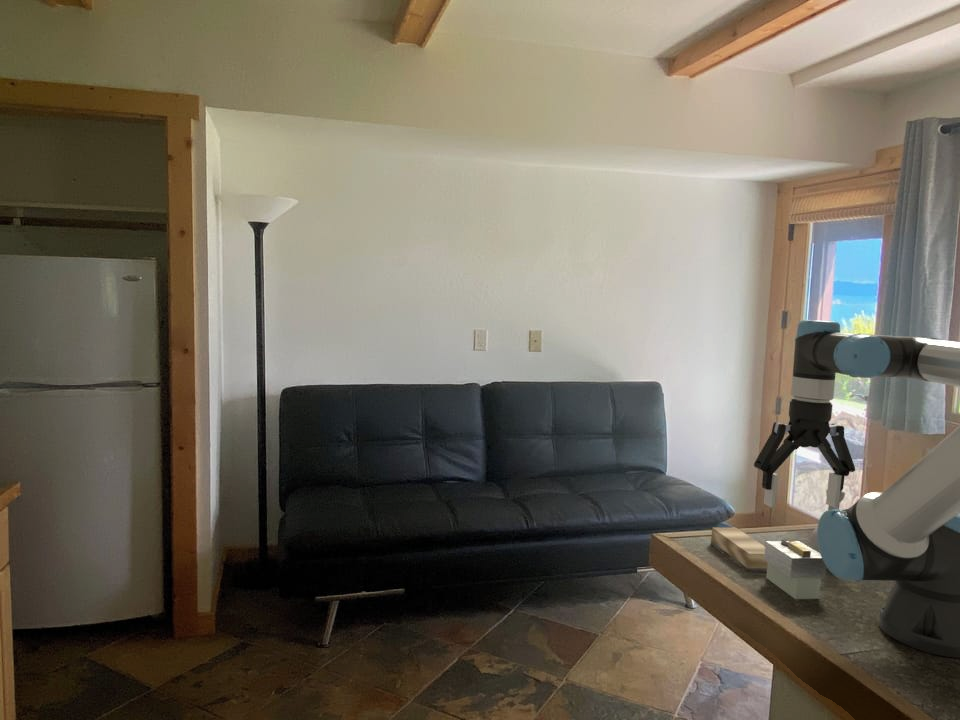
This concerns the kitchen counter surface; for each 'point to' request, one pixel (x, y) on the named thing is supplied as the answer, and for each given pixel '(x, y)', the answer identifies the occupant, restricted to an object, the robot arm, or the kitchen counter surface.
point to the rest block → (795, 584)
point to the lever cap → (794, 559)
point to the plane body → (740, 548)
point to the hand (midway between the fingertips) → (800, 505)
